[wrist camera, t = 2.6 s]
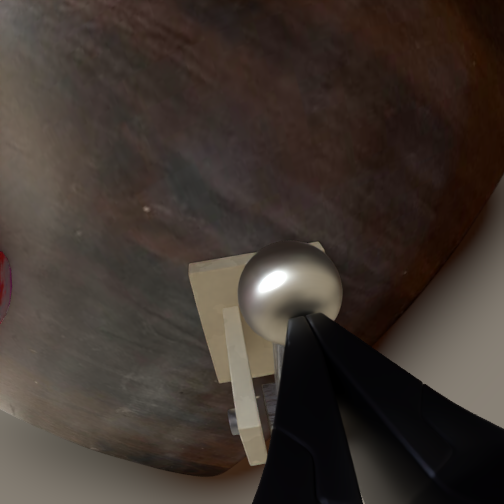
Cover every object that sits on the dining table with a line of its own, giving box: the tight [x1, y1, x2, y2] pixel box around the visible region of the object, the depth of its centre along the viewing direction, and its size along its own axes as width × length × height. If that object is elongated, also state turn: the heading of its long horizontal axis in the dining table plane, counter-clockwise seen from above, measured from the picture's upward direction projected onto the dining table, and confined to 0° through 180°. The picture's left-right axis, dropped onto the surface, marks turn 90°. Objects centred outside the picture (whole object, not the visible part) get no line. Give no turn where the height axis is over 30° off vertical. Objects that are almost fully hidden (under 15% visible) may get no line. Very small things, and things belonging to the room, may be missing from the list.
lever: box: [238, 240, 343, 434], centre depth 12 cm, size 12×3×3 cm, turn 7°
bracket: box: [188, 242, 325, 466], centre depth 18 cm, size 10×8×10 cm
